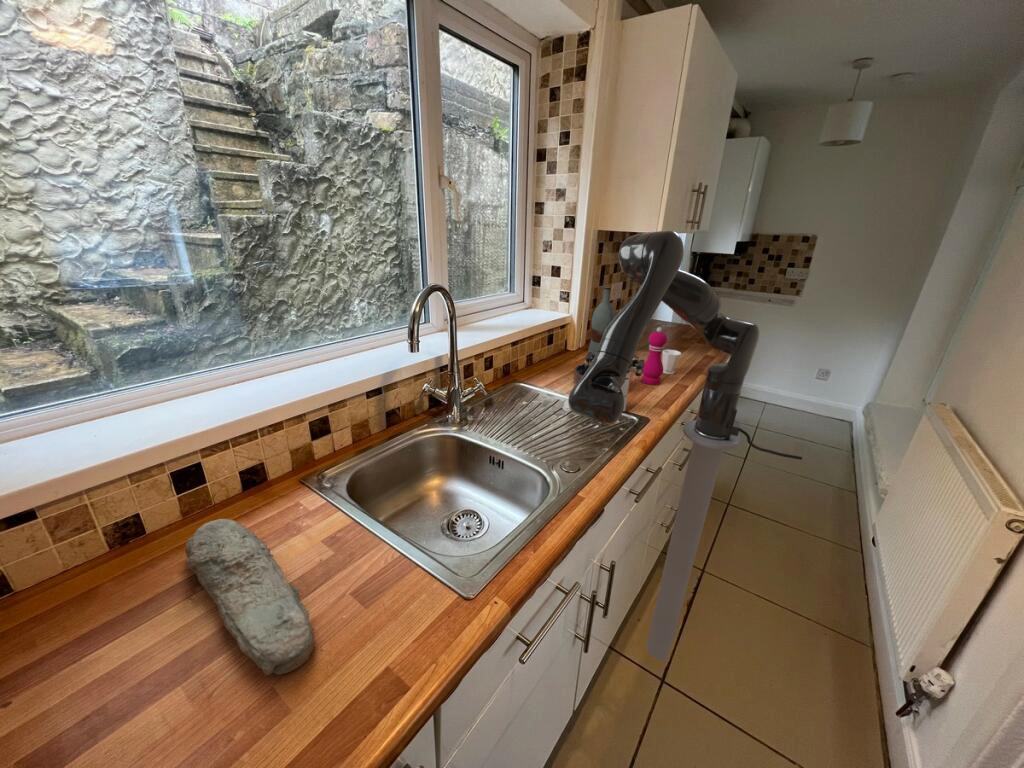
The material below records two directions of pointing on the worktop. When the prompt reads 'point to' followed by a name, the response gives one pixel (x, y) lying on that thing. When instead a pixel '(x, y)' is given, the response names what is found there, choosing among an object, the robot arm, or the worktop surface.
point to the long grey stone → (251, 595)
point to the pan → (579, 372)
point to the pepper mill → (654, 358)
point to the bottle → (601, 320)
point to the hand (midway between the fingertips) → (617, 355)
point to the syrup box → (625, 389)
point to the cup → (670, 360)
